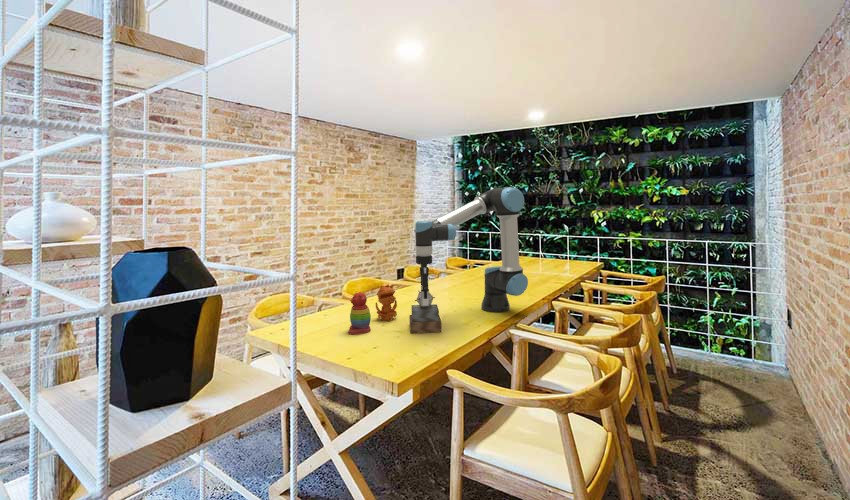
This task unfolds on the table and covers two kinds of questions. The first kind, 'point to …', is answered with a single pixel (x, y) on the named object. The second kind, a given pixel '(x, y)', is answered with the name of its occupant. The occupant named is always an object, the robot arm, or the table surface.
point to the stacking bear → (359, 315)
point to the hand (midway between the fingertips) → (424, 302)
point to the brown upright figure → (386, 303)
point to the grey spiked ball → (419, 299)
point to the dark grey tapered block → (425, 319)
